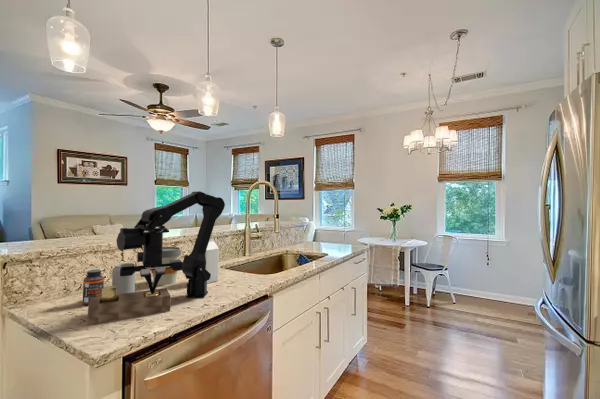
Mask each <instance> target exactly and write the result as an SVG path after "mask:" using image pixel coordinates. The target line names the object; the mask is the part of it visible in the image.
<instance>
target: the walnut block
mask: <svg viewBox="0 0 600 399" xmlns="http://www.w3.org/2000/svg"><path fill="white" fill-rule="evenodd" d="M155 291H158V292H159V295H156V296H149V297H145V294H146V293H147V292H150V289H148V290H147V289H146V290H140V291H135V292H132V293H124V294H117V301H114V302H107V303H102V297H94V298H91V300H90V303H89V305H87V326H91V325H97V324H103V323H107V322H113V321H119V320H125V319H126V320H127V319H131V318H136V317H141V316H147V315H149V316H150V315H152V314H153V315H154V314H158V313H166V312H170V311H171V294H170V292H169V290H168V289H167V287H162V288H156V289H155Z"/></svg>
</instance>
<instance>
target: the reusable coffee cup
mask: <svg viewBox="0 0 600 399" xmlns="http://www.w3.org/2000/svg"><path fill="white" fill-rule="evenodd" d="M181 254H182V253H181V248H180V247H177V246H163V249H162V264H163V263H169V260H179V259H180V258H181ZM150 273H151V274H152V280H153V279H154V270H150ZM177 276H178V271H174V270H172V269H171V268H168V269H165V274H164V275H162V276H161V278H160V280H159V282H158V284H157V286H167V285H172V284H175V283H176V282H177Z"/></svg>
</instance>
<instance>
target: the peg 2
mask: <svg viewBox="0 0 600 399" xmlns="http://www.w3.org/2000/svg"><path fill="white" fill-rule="evenodd" d="M156 295H159V292H158V291H154V293H151V292H147V293H146V294H145V297H149V296H156Z"/></svg>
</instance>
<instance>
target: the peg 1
mask: <svg viewBox="0 0 600 399" xmlns="http://www.w3.org/2000/svg"><path fill="white" fill-rule="evenodd" d="M114 301H117V286H112V285H108V286H104V288H102V303H107V302H114Z"/></svg>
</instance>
